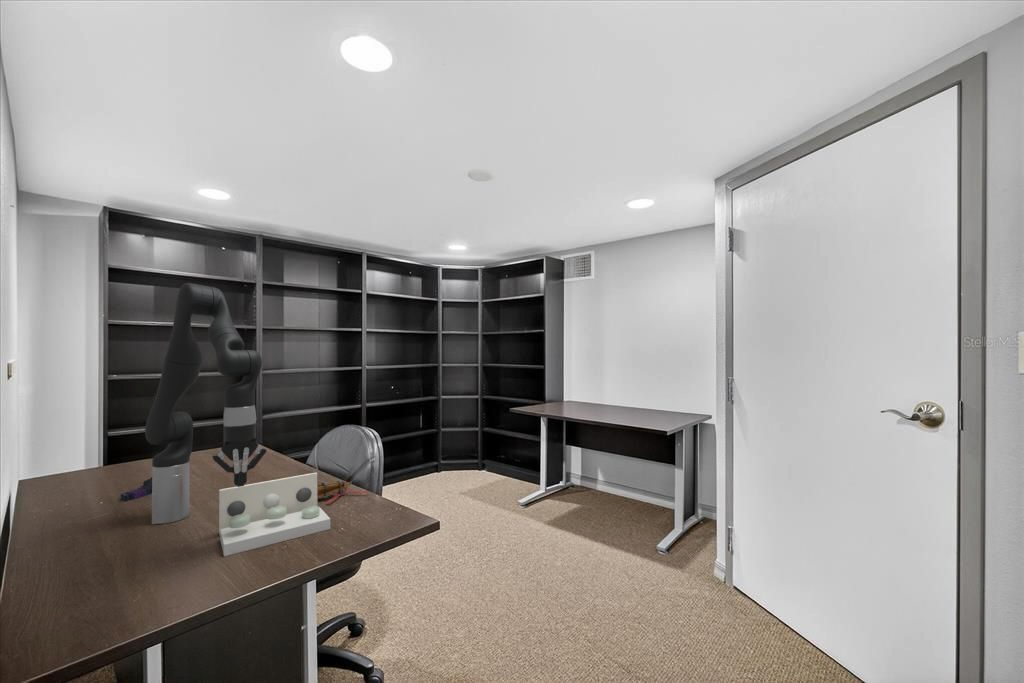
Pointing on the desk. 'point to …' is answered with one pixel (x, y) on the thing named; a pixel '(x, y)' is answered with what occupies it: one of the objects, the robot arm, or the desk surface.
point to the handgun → (138, 491)
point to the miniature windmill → (334, 489)
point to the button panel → (271, 532)
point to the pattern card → (267, 498)
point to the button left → (239, 521)
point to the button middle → (276, 512)
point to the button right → (310, 512)
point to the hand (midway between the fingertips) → (240, 485)
